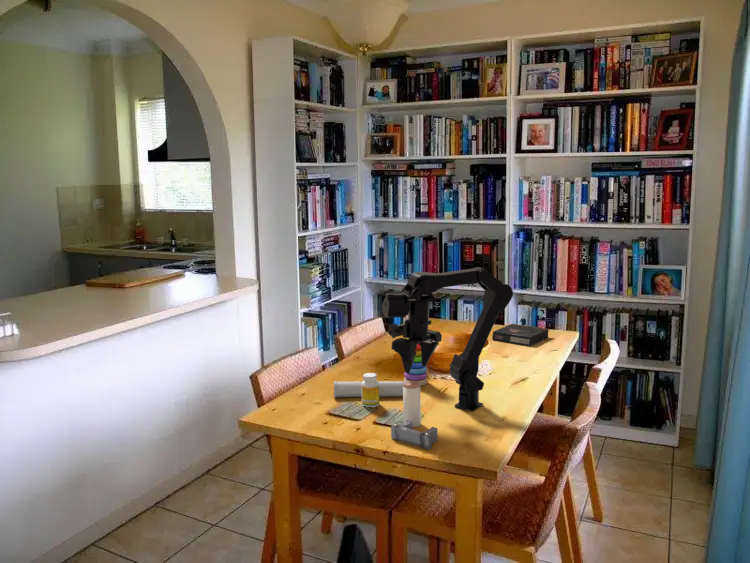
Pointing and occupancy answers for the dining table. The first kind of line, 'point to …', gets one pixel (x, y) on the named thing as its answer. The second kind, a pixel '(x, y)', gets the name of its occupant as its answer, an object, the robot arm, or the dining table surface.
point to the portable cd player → (520, 334)
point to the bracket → (414, 435)
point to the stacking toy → (417, 369)
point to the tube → (355, 391)
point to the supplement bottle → (370, 390)
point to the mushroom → (412, 402)
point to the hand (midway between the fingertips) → (415, 369)
